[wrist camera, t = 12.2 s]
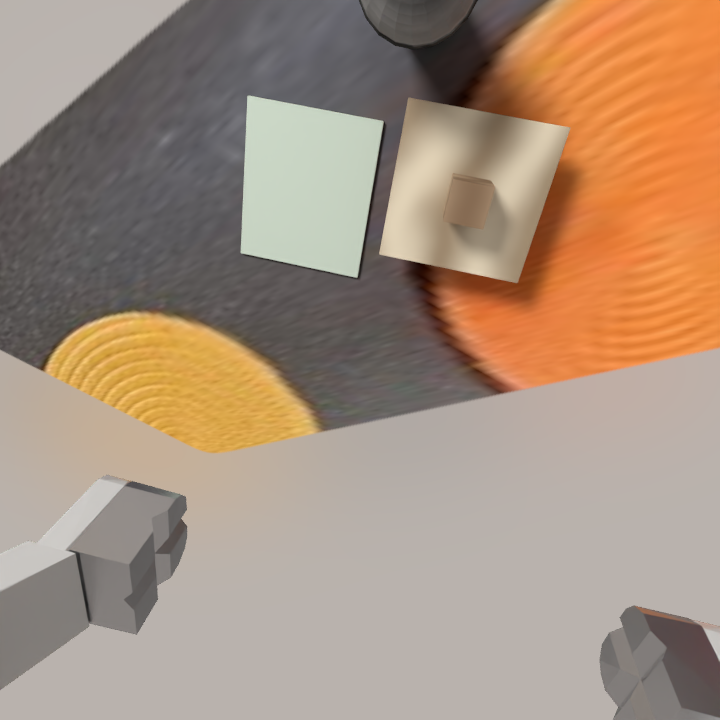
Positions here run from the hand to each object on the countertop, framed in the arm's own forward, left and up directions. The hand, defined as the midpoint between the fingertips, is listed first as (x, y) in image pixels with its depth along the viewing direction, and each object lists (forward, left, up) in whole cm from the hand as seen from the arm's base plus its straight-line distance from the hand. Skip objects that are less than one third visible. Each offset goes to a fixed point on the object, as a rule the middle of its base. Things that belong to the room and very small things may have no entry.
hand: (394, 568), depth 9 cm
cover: (-2, -2, -35) cm, 35 cm away
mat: (+12, +1, -39) cm, 41 cm away
